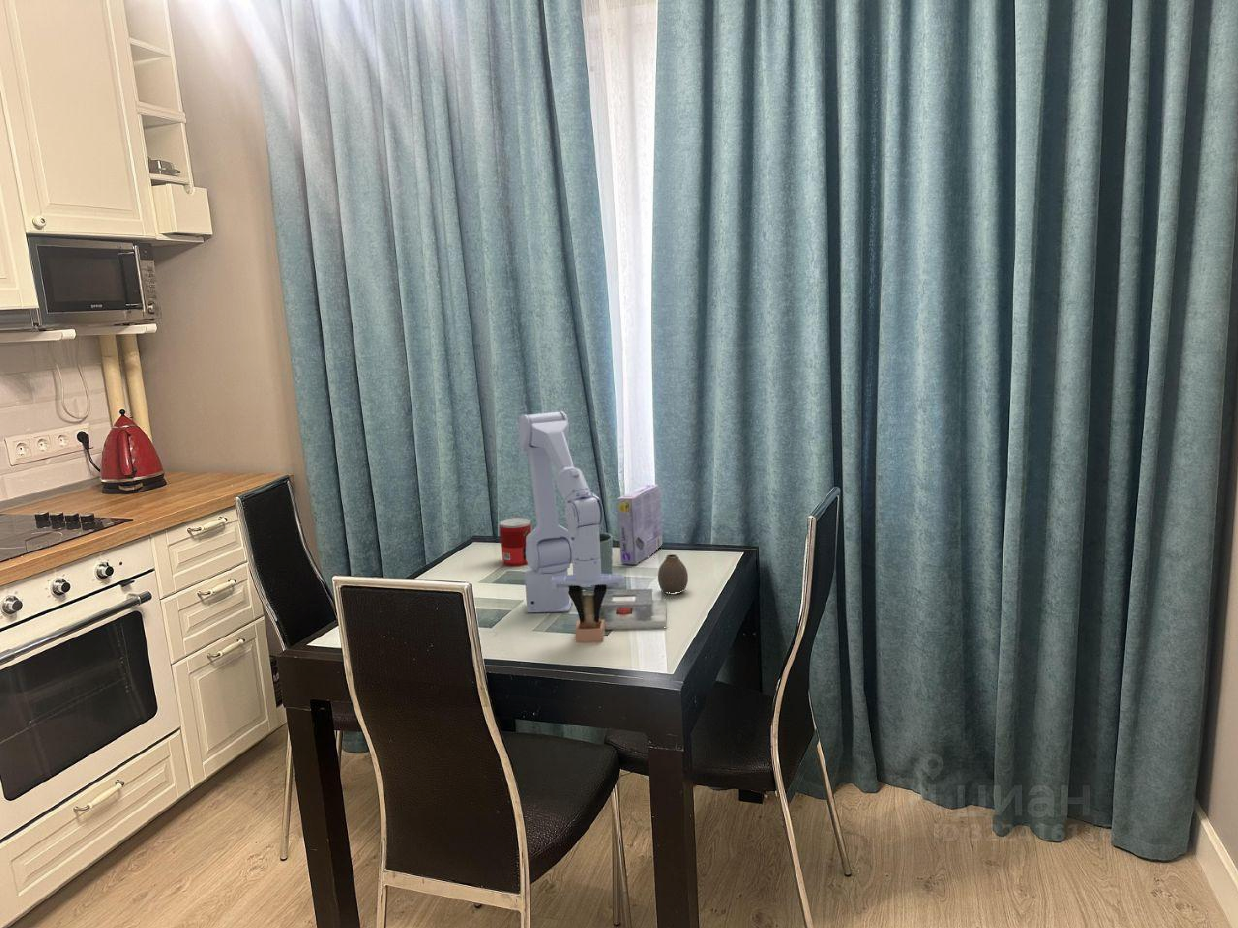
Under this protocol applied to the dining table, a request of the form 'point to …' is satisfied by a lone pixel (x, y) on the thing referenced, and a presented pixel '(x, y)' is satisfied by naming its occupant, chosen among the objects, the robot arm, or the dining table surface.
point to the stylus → (589, 611)
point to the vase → (672, 575)
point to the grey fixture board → (633, 610)
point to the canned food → (514, 541)
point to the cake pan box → (639, 524)
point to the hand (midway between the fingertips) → (589, 620)
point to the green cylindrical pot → (605, 556)
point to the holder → (590, 632)
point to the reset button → (624, 610)
